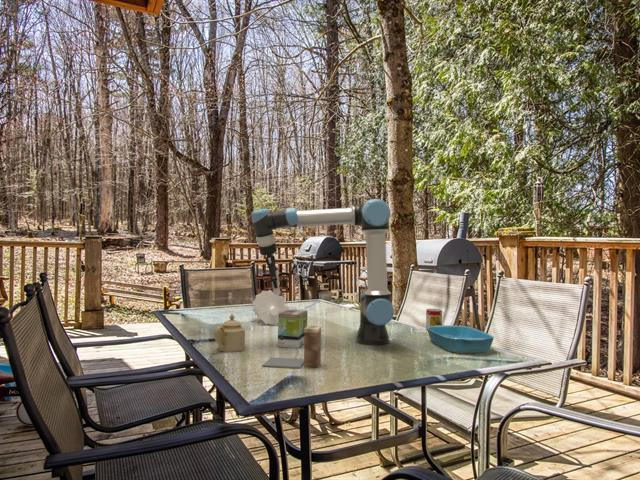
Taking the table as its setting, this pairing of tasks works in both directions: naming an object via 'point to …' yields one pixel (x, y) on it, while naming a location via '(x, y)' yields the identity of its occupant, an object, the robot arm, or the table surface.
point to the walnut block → (312, 346)
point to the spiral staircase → (269, 307)
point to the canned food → (433, 317)
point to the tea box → (291, 328)
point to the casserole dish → (460, 338)
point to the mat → (284, 363)
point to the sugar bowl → (230, 336)
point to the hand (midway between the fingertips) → (277, 289)
